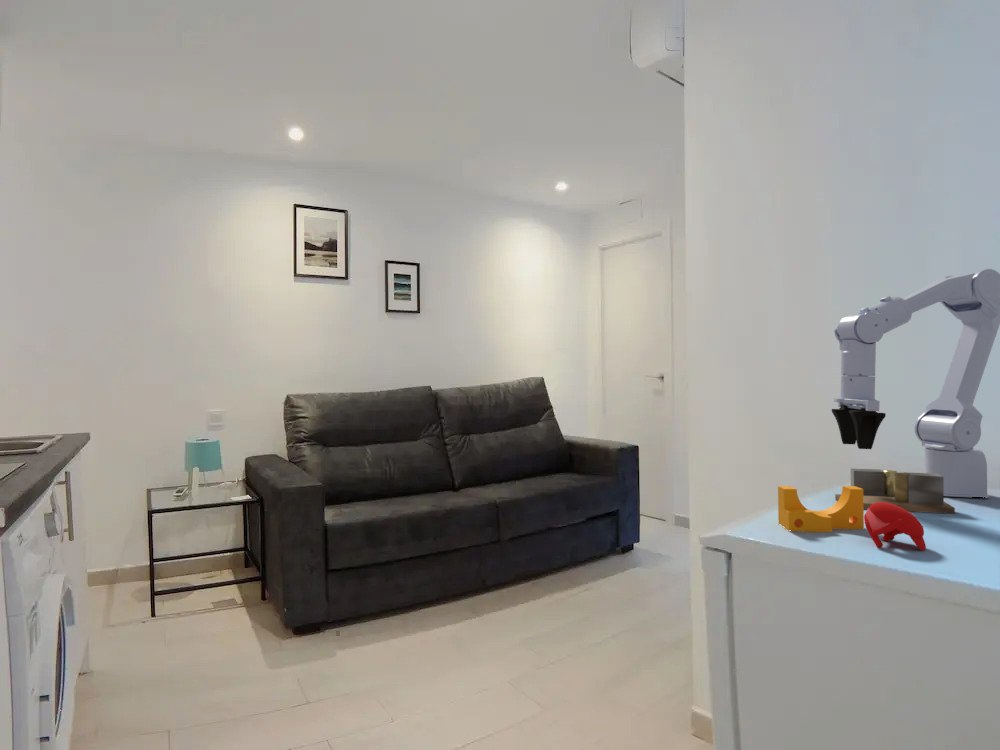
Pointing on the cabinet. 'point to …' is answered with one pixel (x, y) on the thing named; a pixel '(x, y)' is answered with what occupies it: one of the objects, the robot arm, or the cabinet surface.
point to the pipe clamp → (825, 520)
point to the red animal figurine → (892, 524)
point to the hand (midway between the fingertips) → (856, 446)
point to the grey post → (874, 481)
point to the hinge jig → (915, 494)
